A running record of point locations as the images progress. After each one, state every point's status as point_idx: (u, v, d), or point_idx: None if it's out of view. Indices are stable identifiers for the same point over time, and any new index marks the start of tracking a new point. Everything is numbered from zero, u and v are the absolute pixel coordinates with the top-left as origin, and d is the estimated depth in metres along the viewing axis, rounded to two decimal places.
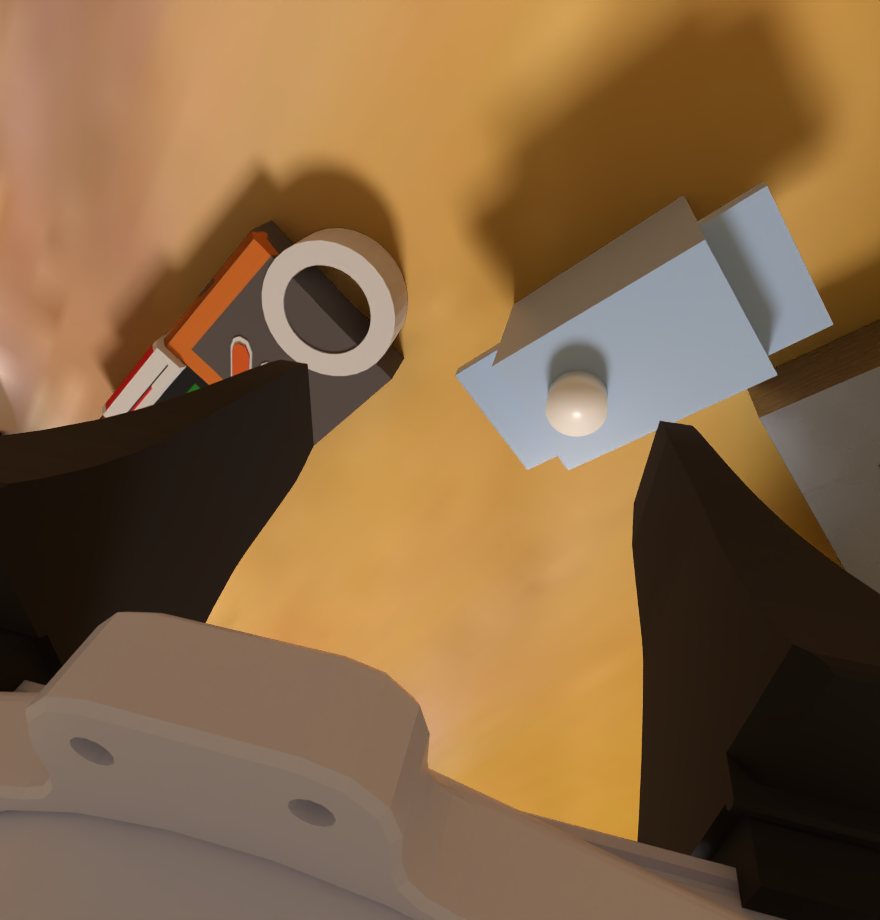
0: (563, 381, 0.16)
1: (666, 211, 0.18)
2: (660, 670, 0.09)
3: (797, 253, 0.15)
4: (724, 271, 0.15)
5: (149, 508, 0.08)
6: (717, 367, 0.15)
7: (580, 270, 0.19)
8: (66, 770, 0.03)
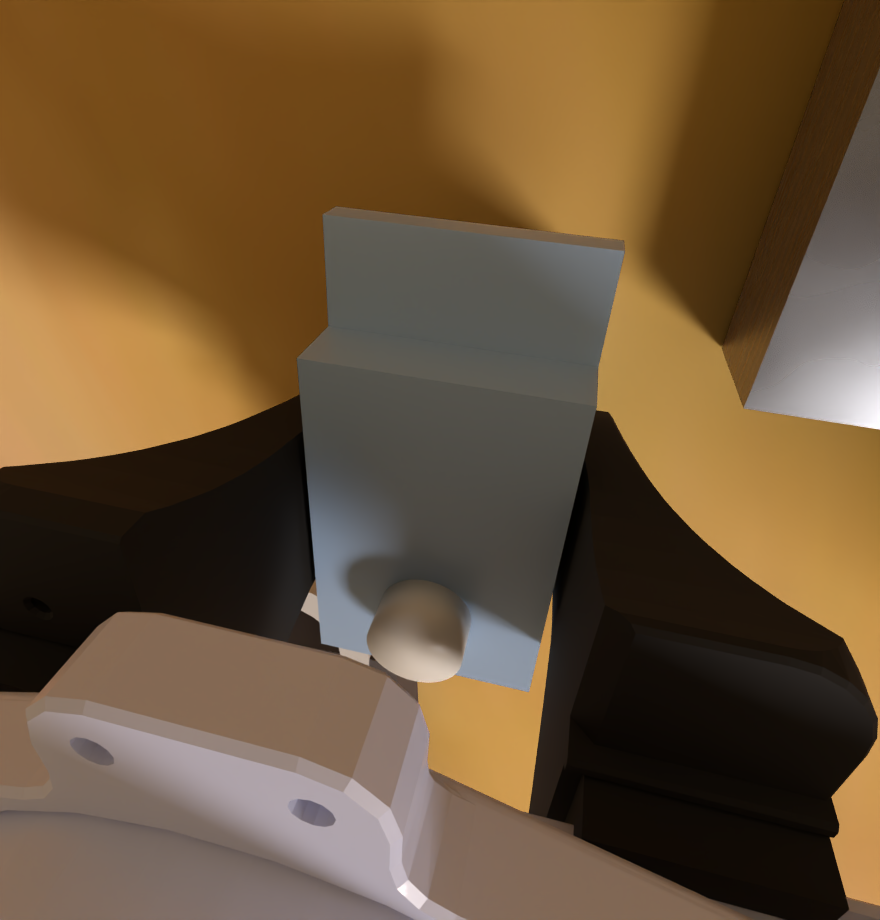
0: (372, 623, 0.10)
1: None
2: (556, 647, 0.09)
3: (453, 234, 0.08)
4: (412, 337, 0.09)
5: (251, 529, 0.08)
6: (512, 464, 0.08)
7: None
8: (66, 770, 0.03)
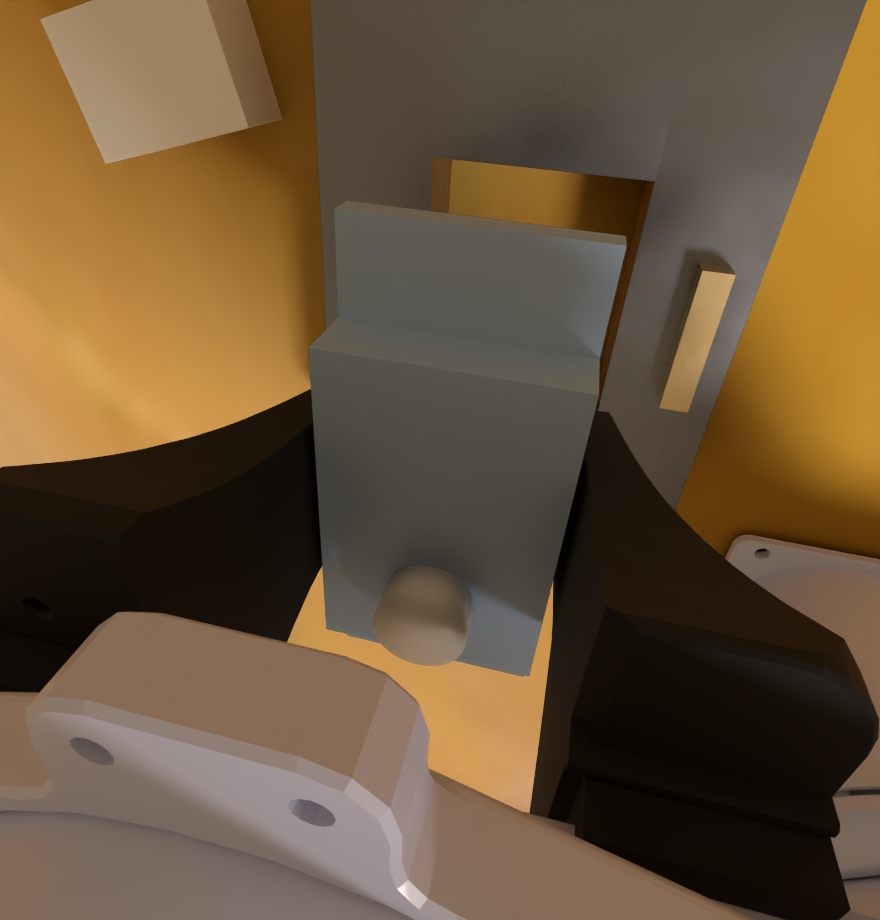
0: (377, 607, 0.10)
1: None
2: (556, 647, 0.09)
3: (461, 228, 0.08)
4: (420, 328, 0.09)
5: (251, 529, 0.08)
6: (516, 452, 0.09)
7: None
8: (67, 770, 0.03)
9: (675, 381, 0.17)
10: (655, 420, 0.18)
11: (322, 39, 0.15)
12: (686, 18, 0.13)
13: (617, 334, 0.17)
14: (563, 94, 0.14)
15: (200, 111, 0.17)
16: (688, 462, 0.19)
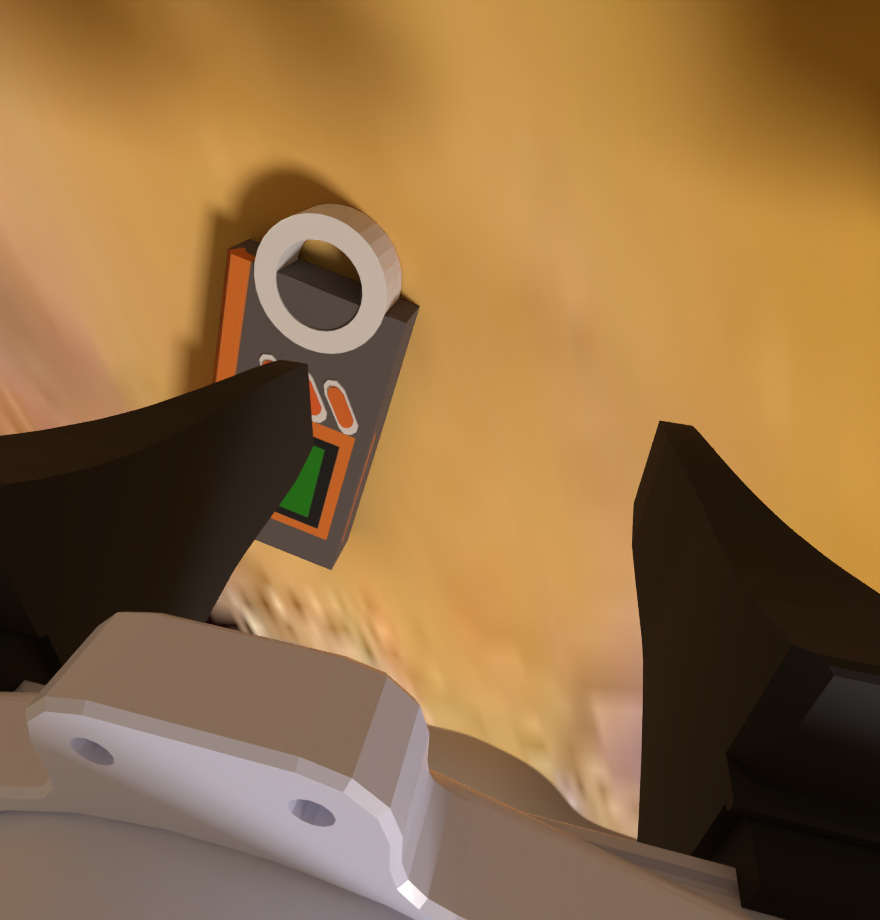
0: None
1: None
2: (660, 670, 0.09)
3: None
4: None
5: (150, 508, 0.08)
6: None
7: None
8: (66, 770, 0.03)
9: None
10: None
11: None
12: None
13: None
14: None
15: None
16: None
